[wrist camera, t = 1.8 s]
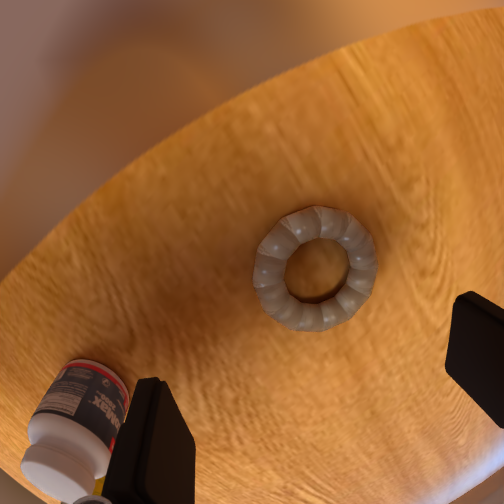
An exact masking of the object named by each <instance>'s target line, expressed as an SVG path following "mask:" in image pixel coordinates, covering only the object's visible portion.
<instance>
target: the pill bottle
mask: <svg viewBox="0 0 504 504" xmlns="http://www.w3.org/2000/svg"><path fill="white" fill-rule="evenodd" d="M128 405H129V395H128V391H127V389H126V387H125V385H124V383H123V382H122V380H121V379H120V378H119V377H118V376H117V375H116V374H115V373H114V372H113V371H112V370H110V369H109V368H107V367H106V366H104V365H102V364H100V363H97V362H94V361H91V360H84V359H79V360H73V361H71V362H69V363H67V364H66V365H65V366H64V367H63V368H62V370H61V371H60V372H59V374H58V375H57V377H56V378H55V380H54V382H53V383H52V385H51V386H50V388H49V389H48V391H47V392H46V394H45V396H44V397H43V399H42V401H41V402H40V404H39V406H38V407H37V409H36V411H35V412H34V414H33V416H32V418H31V420H30V422H29V425H28V437H29V440H30V443H31V446H30V447H29V448H28V449H27V450H26V452H25V455H24V457H23V459H22V462H21V466H20V467H21V471H22V473H23V474H24V476H25V477H26V478H27V479H28V480H29V481H30V482H31V483H32V484H33V485H34V486H35V487H37V488H38V489H39V490H41V491H42V492H44V493H45V494H47V495H49V496H51V497H53V498H55V499H57V500H60V501H62V502H65V503H69V504H73V503H74V502H75V501H76V500H78V499H79V498H82V497H84V496H88V495H92V493H93V490H94V487H95V479H99V478H102V477H104V476H105V475H106V473H107V469H108V465H109V462H110V458H111V454H112V451H113V447H114V444H115V440H116V437H117V434H118V430H119V428H120V426H121V424H123V422H124V419H125V415H126V412H127V409H128Z"/></svg>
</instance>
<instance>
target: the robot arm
mask: <svg viewBox="0 0 504 504" xmlns="http://www.w3.org/2000/svg"><path fill="white" fill-rule="evenodd" d="M445 369H446V372H447V373H448V375H449V376H450V377H451V378H452V379H453V380H454V381H455V382H456V383H457V384H458V385H459V386H460V387H461V388H462V389H463V390H464V391H465V392H466V393H467V394H468V395H469V396H470V397H471V398H472V399H473V400H474V401H475V402H476V403H477V404H478V405H479V406H480V407H481V408H482V409H483V410H484V411H485V412H486V414H487V415H488V416H489V417H490V418H491V419H492V420H493V421H494V422H495V423H496V424H497V425H498V426H499V427H500V428H502V429H504V309H502V308H501V307H499V306H497V305H496V304H494V303H492V302H491V301H489V300H487V299H486V298H484V297H482V296H481V295H479V294H477V293H475V292H473V291H468V292H466V293H464V294H461V295H459V296H458V297H457V298H456V300H455V302H454V304H453V310H452V320H451V328H450V336H449V343H448V349H447V355H446V361H445ZM195 454H196V446H195V441H194V438H193V436H192V434H191V432H190V430H189V429H188V427H187V425H186V423H185V421H184V419H183V417H182V415H181V412H180V410H179V408H178V406H177V404H176V402H175V400H174V398H173V396H172V393H171V391H170V389H169V387H168V385H167V383H166V382H165V381H160V379H159V378H158V377H152V378H144V379H139V380H138V381H137V384H136V387H135V390H134V394H133V397H132V400H131V403H130V407H129V410H128V413H127V417H126V420H125V423H123V424H121V426H120V428H119V430H118V434H117V437H116V440H115V444H114V447H113V451H112V454H111V458H110V462H109V465H108V469H107V473H106V476H105V480H104V484H103V488H102V492H101V496H98V495H88V496H84V497H82V498H79V499H78V500H76V501H75V502H74V503H73V504H195ZM449 504H504V467H502V468H501V469H500V470H498V471H497V472H496V473H494V474H493V475H492V476H490V477H489V478H487V479H486V480H485V481H483V482H482V483H480V484H479V485H477V486H476V487H474V488H473V489H471V490H470V491H468V492H467V493H465V494H464V495H462V496H461V497H459V498H457V499H456V500H454V501H452V502H451V503H449Z"/></svg>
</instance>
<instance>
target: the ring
mask: <svg viewBox="0 0 504 504" xmlns="http://www.w3.org/2000/svg"><path fill="white" fill-rule="evenodd" d="M317 237H320V238H327V239H333V240H336V241H337V242H338V243H339V244H340V245H341V246H342V247H343V248H345V249H346V251H347V255H348V258H349V262H350V269H349V273H348V277H347V281H346V283H345V285H344V286H343V287H342V288H341V289H340V291H339V292H338V293H337V294H336V295H335V296H334V297H333V298H330V299H328V300H326V301H324V302H321V303H319V304H310V303H301V302H299V301H298V300H297V299H295V298H294V297H293V296H291V295H290V294H289V293H288V290H287V287H286V284H285V282H284V279H283V278H284V273H285V268H286V263H287V260H288V259H289V257H290V256H291V255H292V254H293V253H294V251H295V250H296V249H297V248H298V247H299V245H300V244H303V243H305V242H308V241H310V240H313V239H315V238H317ZM377 270H378V260H377V255H376V251H375V247H374V242H373V238H372V236H371V234H370V233H369V231H368V230H367V229H366V228H365V227H364V226H363V225H362V224H361V223H360V222H359V221H358V220H357V219H356V218H355V217H353V216H352V215H351V214H350V213H349V212H347V211H343V210H338V209H333V208H328V207H322V206H311V207H308V208H306V209H303V210H301V211H298V212H295V213H293V214H290V215H288V216H285V217H283V218H281V219H280V220H279V221H278V222H277V224H276V225H275V226H274V227H273V228H272V230H271V231H270V232H269V233H268V235H267V236H266V237H265V238H264V239H263V241H262V242H261V243H260V244H259V246H258V249H257V254H256V259H255V265H254V271H253V277H252V283H253V286H254V289H255V291H256V293H257V296H258V298H259V301H260V303H261V306H262V308H263V310H264V312H265V313H266V314H267V315H269V316H270V317H271V318H273V319H274V320H276V321H277V322H279V323H280V324H282V325H283V326H285V327H286V328H288V329H290V330H293V331H307V332H323V331H326V330H328V329H330V328H333V327H335V326H337V325H339V324H341V323H344V322H346V321H348V320H350V319H351V318H352V317H353V316H354V315H355V313H356V312H357V311H358V310H359V309H360V308H361V306H362V305H363V304H364V303H365V302H366V301H367V299H368V298H369V297H370V295H371V292H372V289H373V285H374V282H375V278H376V274H377Z"/></svg>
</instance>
